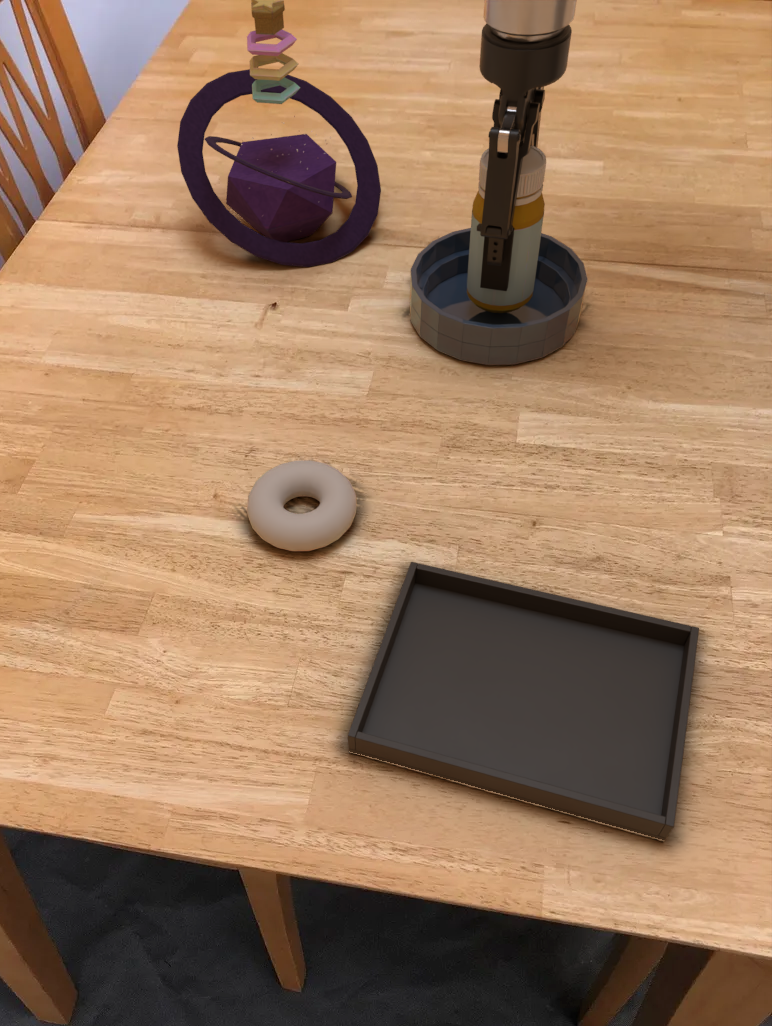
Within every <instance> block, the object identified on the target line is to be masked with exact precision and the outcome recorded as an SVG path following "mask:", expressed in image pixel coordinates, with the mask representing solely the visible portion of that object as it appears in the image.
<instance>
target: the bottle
mask: <svg viewBox="0 0 772 1026" xmlns="http://www.w3.org/2000/svg"><path fill="white" fill-rule="evenodd" d="M488 157H489V147H488V148H487V149H486V150H484V151H483V153H482V154H481V156H480V159H479V168H478V169H479V170H478V187H477V188H478V190H477V192H476V194H475V197H474V199H473V202H472V209H471V219H470V228H471V233H470V247H469V262H468V276H467V294H468V297H469V299H470V300H471V301H472V302H473V303H474V304H475V305H476V306H477V307H479V308H481V309H483V310H485V311H489V312H492V313H506V312H512V311H515V310H517V309H519V308H521V307H522V306H524V305H525V304H526V303H527V302H529V300H530V299H531V297H532V295H533V290H534V283H535V276H536V268H537V261H538V254H539V246H540V239H541V233H542V232H543V224H544V218H545V217H544V216H545V204H546V203H545V198H544V195H543V191H544V190H543V189H544V182H545V176H546V168H547V157H546V154H545V153H544V151H543V150H541V149H540V148H539V147H535V146H530V151H529V153H528V154H527V155H526V156H524V157H523V161H522V167H521V174H520V180H519V186H518V192H517V199H516V205H515V211H514V218H513V224H512V226H513V228H515V229H514V238H513V247H512V256H511V265H510V274H509V283H508V289H507V291H500V290H493V289H486V288H480V284H481V272H482V260H483V248H484V237H483V236H481V235H480V233H481V232H480V231H477V226H478V224H479V223H480V224H482V216H483V206H484V196H485V187H486V177H487V167H488Z"/></svg>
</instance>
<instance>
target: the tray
mask: <svg viewBox="0 0 772 1026" xmlns="http://www.w3.org/2000/svg"><path fill="white" fill-rule="evenodd" d="M393 607H394V608H393V609H392V611H391V615H390V618H389V621H388V624H387V626H386V629H385V632H384V633H383V634H384V635H383V637H382V640H381V642H380V645H379V648H378V650H377V653H376V656H375V659H374V661H373V664H372V668H371V669H370V672H369V675H368V678H367V681H366V683H365V687H364V689H363V692H362V694H361V698H360V700H359V703H358V705H357V708H356V711H355V713H354V716H353V719H352V722H351V724H350V727H349V729H348V733H347V749H348V752H349V751H350V752H353V753H357V754H360V755H361V754H362V755H365V756H369V757H372V758H377V759H379V760H382V761H387V762H390V763H394V764H398V765H401V766H405V767H408V768H411V769H415V770H419V771H422V772H426V773H429V774H433V775H436V776H440V777H443V778H446V779H450V780H454V781H458V782H461V783H465V784H468V785H471V786H475V787H478V788H481V789H485V790H488V791H493V792H496V793H500V794H503V795H507V796H510V797H514V798H517V799H520V800H524V801H527V802H531V803H535V804H539V805H542V806H545V807H548V808H551V809H552V808H553V809H555V810H559V811H563V812H567V813H570V814H574V815H576V816H581V817H584V818H588V819H591V820H595V821H598V822H602V823H605V824H609V825H612V826H616V827H620V828H623V829H627V830H630V831H634V832H637V833H641V834H644V835H648V836H651V837H655V838H658V839H662V840H665V841H666V840H667V839H668V837H669V836H670V834H671V832H672V831H673V830H674V827H675V824H676V816H677V808H678V799H679V792H680V785H681V784H680V783H681V776H682V768H683V759H684V753H685V752H684V751H685V745H686V744H685V743H686V735H687V728H688V720H689V712H690V705H691V697H692V688H693V681H694V671H695V665H696V658H697V648H698V641H699V633H700V627H697V626H693V625H692V626H691V625H690V624H685V623H680V622H676V621H673V620H672V621H671V620H667V619H664V618H658V617H654V616H650V615H646V614H642V613H637V612H634V611H633V612H632V611H628V610H624V609H619V608H616V607H610V606H606V605H602V604H597V603H593V602H589V601H585V600H580V599H575V598H572V597H568V596H567V597H566V596H563V595H559V594H554V593H549V592H546V591H541V590H537V589H532V588H528V587H523V586H519V585H515V584H511V583H507V582H502V581H498V580H493V579H488V578H485V577H480V576H476V575H471V574H467V573H463V572H458V571H453V570H451V569H450V570H449V569H445V568H442V567H441V568H440V567H437V566H432V565H429V564H424V563H418V562H415V561H410V563H409V566H408V569H407V571H406V575H405V577H404V580H403V583H402V586H401V587H400V591H399V593H398V597H397V598H396V602H395V604H394V606H393Z"/></svg>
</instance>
